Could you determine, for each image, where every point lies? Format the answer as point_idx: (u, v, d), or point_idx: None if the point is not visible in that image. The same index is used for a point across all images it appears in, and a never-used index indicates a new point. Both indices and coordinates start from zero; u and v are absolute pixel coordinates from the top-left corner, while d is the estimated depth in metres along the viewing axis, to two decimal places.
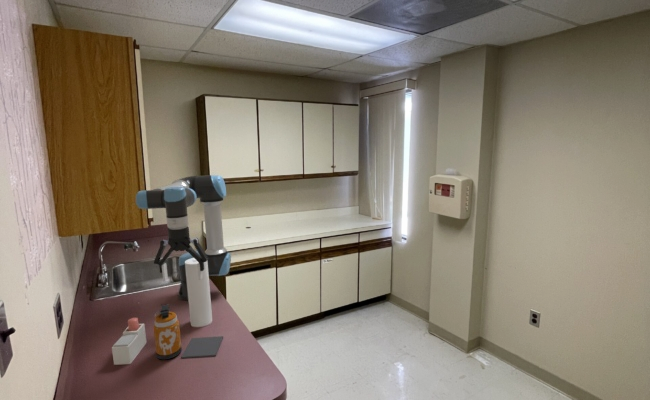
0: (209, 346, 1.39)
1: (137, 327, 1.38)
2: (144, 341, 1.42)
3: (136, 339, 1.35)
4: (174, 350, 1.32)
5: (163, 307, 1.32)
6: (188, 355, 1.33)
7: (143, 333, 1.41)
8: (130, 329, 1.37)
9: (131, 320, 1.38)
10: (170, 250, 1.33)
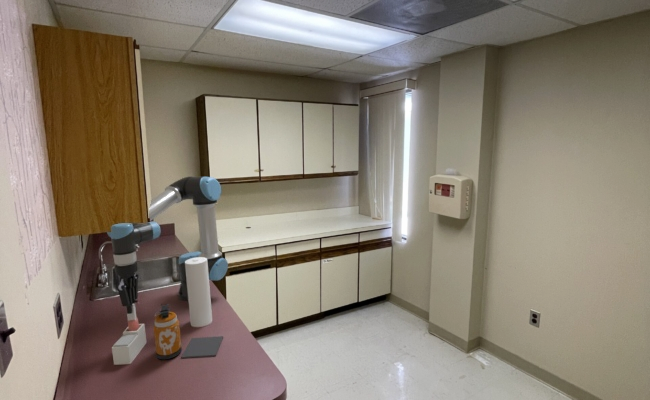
0: (209, 346, 1.39)
1: (137, 327, 1.38)
2: (144, 341, 1.42)
3: (136, 339, 1.35)
4: (174, 350, 1.32)
5: (163, 307, 1.32)
6: (188, 355, 1.33)
7: (143, 333, 1.41)
8: (130, 329, 1.37)
9: (131, 320, 1.38)
10: None
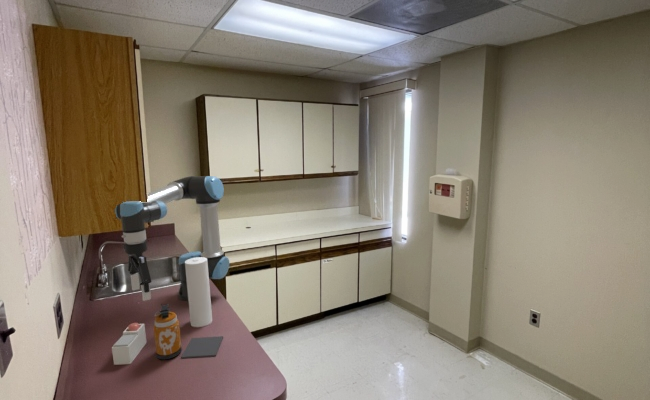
0: (209, 346, 1.39)
1: None
2: (144, 341, 1.42)
3: (136, 339, 1.35)
4: (174, 350, 1.32)
5: (163, 307, 1.32)
6: (188, 355, 1.33)
7: (143, 333, 1.41)
8: None
9: (132, 325, 1.38)
10: (130, 262, 1.34)
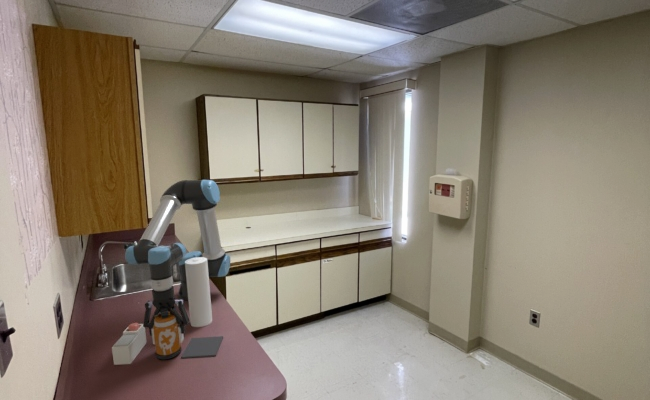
0: (209, 346, 1.39)
1: None
2: (144, 341, 1.42)
3: (136, 339, 1.35)
4: (174, 350, 1.32)
5: (163, 307, 1.32)
6: (188, 355, 1.33)
7: (143, 333, 1.41)
8: None
9: (132, 325, 1.38)
10: (156, 312, 1.31)
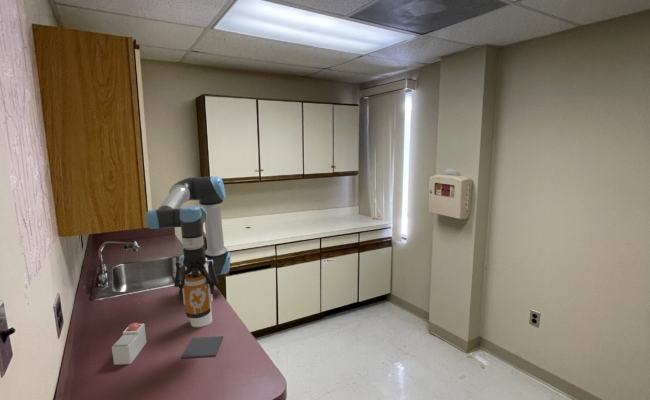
0: (209, 346, 1.39)
1: None
2: (144, 341, 1.42)
3: (136, 339, 1.35)
4: (204, 310, 1.32)
5: (193, 267, 1.32)
6: (188, 355, 1.33)
7: (143, 333, 1.41)
8: None
9: (132, 325, 1.38)
10: (187, 271, 1.32)
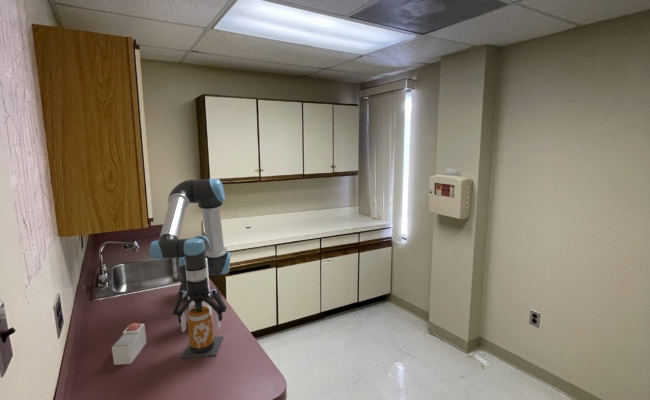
0: None
1: None
2: (144, 341, 1.42)
3: (136, 339, 1.35)
4: (208, 343, 1.35)
5: None
6: (188, 355, 1.33)
7: (143, 333, 1.41)
8: None
9: (132, 325, 1.38)
10: (189, 301, 1.34)
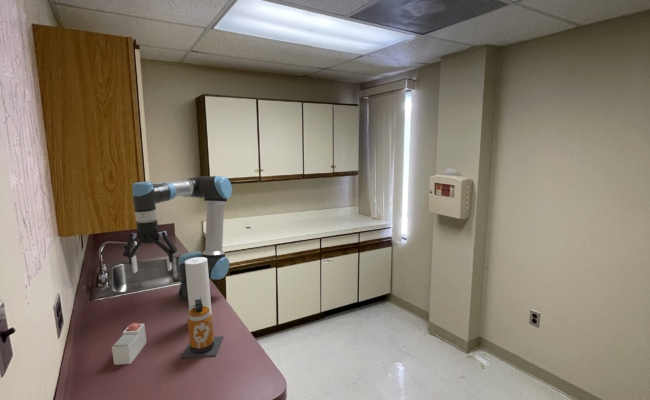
0: None
1: None
2: (144, 341, 1.42)
3: (136, 339, 1.35)
4: (208, 343, 1.35)
5: (197, 301, 1.35)
6: (188, 355, 1.33)
7: (143, 333, 1.41)
8: None
9: (132, 325, 1.38)
10: (139, 243, 1.38)
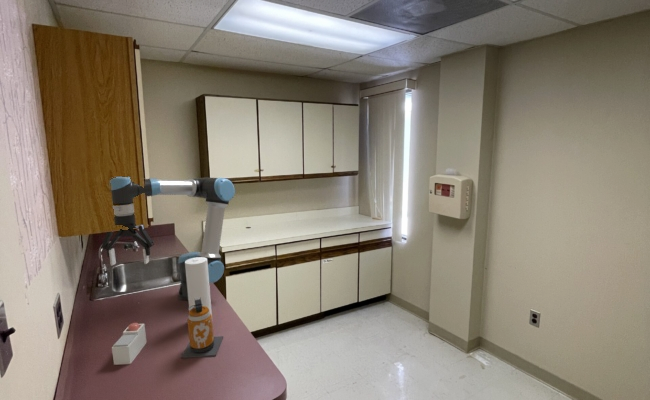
0: None
1: None
2: (144, 341, 1.42)
3: (136, 339, 1.35)
4: (208, 343, 1.35)
5: (197, 301, 1.35)
6: (188, 355, 1.33)
7: (143, 333, 1.41)
8: None
9: (132, 325, 1.38)
10: (116, 236, 1.42)
